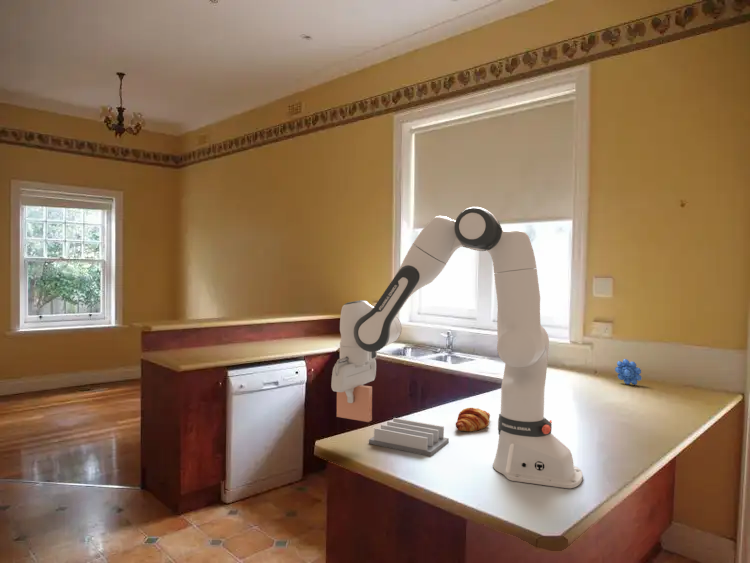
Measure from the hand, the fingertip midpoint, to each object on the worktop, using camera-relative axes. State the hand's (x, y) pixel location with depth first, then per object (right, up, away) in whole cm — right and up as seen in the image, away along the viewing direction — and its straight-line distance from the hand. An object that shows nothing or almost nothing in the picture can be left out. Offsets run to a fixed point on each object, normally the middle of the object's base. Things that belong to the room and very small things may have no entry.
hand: (354, 401), depth 156 cm
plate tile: (0, -5, 0) cm, 5 cm away
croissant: (+40, -14, +21) cm, 47 cm away
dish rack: (+17, -13, +3) cm, 21 cm away
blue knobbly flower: (+126, -14, +92) cm, 157 cm away
